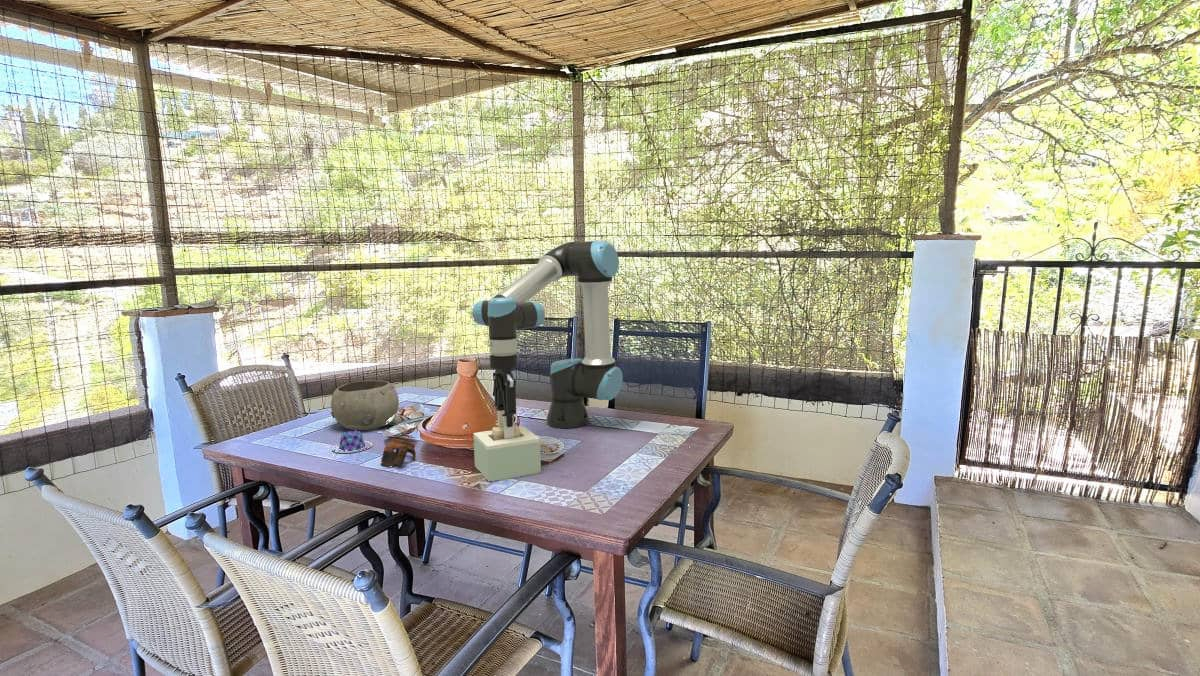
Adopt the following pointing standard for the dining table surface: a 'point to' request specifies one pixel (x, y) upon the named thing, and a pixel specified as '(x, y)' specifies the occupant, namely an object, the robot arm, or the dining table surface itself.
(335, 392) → the bowl
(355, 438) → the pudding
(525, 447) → the slot box
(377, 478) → the dining table surface
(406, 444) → the pottery mug
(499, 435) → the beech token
